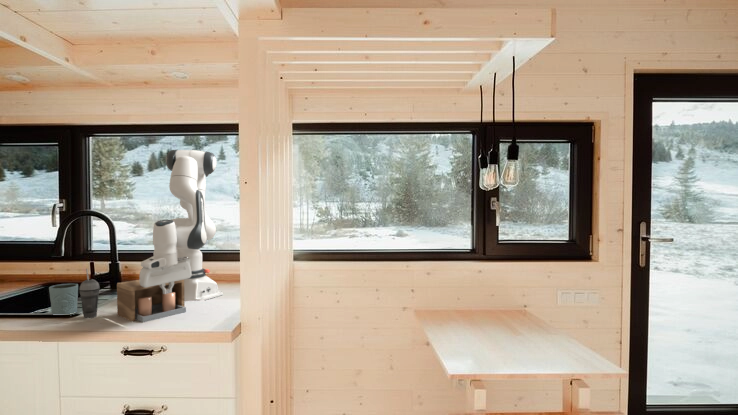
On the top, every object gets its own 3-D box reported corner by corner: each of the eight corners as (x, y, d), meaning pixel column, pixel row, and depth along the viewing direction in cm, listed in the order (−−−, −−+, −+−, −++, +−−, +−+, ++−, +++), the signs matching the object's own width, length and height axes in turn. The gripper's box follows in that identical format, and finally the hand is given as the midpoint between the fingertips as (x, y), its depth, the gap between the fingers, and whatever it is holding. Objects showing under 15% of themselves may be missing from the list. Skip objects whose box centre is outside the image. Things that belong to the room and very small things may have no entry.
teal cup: (64, 318, 174) (63, 289, 174) (43, 316, 176) (42, 287, 175) (84, 311, 184) (84, 283, 184) (64, 309, 186) (63, 282, 185)
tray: (167, 307, 191) (167, 301, 191) (185, 313, 182) (185, 307, 182) (125, 316, 177) (125, 310, 177) (142, 323, 168) (142, 317, 168)
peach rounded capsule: (148, 314, 178) (148, 295, 178) (154, 316, 175) (153, 297, 175) (135, 317, 174) (135, 297, 174) (141, 319, 171) (141, 299, 171)
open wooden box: (169, 305, 194) (168, 275, 194) (184, 310, 187) (184, 278, 186) (117, 316, 177) (116, 283, 176) (131, 322, 169) (131, 287, 168)
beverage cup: (90, 320, 172) (89, 270, 171) (74, 318, 173) (74, 269, 173) (104, 314, 179) (104, 267, 178) (90, 313, 181) (89, 266, 180)
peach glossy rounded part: (171, 309, 186) (171, 291, 186) (177, 311, 183) (177, 292, 183) (160, 311, 182) (160, 293, 182) (166, 313, 179) (166, 295, 179)
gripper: (185, 255, 184) (187, 286, 185) (136, 263, 168) (138, 297, 169) (193, 256, 180) (195, 288, 181) (144, 265, 164) (146, 300, 165)
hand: (167, 293), depth 175 cm, fingers closed
